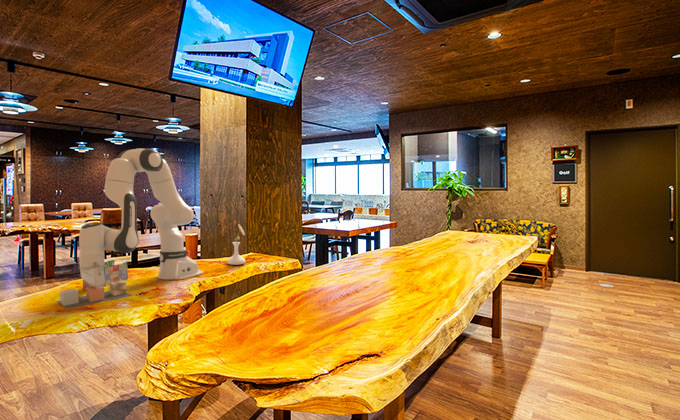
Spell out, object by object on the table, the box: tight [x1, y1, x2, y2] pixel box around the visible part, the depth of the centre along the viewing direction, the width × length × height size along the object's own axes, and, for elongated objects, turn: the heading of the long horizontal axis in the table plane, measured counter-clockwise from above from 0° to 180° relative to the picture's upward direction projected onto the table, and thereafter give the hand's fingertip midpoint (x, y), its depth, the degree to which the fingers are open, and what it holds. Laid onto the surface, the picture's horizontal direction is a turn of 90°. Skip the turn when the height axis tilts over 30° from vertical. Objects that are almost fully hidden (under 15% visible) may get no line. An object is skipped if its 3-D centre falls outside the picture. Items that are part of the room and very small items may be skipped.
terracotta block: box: [86, 286, 105, 302], centre depth 153 cm, size 5×5×5 cm
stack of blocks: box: [82, 258, 129, 290], centre depth 177 cm, size 21×6×12 cm, turn 172°
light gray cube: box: [59, 288, 80, 306], centre depth 148 cm, size 5×5×5 cm
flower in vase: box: [226, 223, 246, 266], centre depth 227 cm, size 13×11×25 cm
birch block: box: [109, 280, 127, 296], centre depth 162 cm, size 5×5×5 cm
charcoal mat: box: [56, 290, 133, 310], centre depth 155 cm, size 24×14×1 cm, turn 141°
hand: (92, 292), depth 155 cm, fingers closed, pressing on terracotta block
